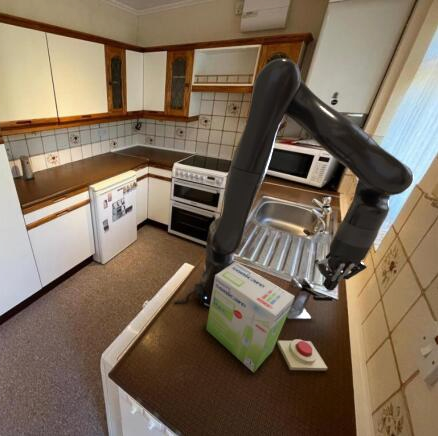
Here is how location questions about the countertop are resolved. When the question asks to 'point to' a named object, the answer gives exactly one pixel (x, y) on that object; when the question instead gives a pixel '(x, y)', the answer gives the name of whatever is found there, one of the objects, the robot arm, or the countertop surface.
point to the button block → (299, 361)
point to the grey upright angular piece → (299, 299)
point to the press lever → (314, 293)
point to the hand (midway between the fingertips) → (328, 288)
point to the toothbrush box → (247, 313)
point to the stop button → (304, 348)
